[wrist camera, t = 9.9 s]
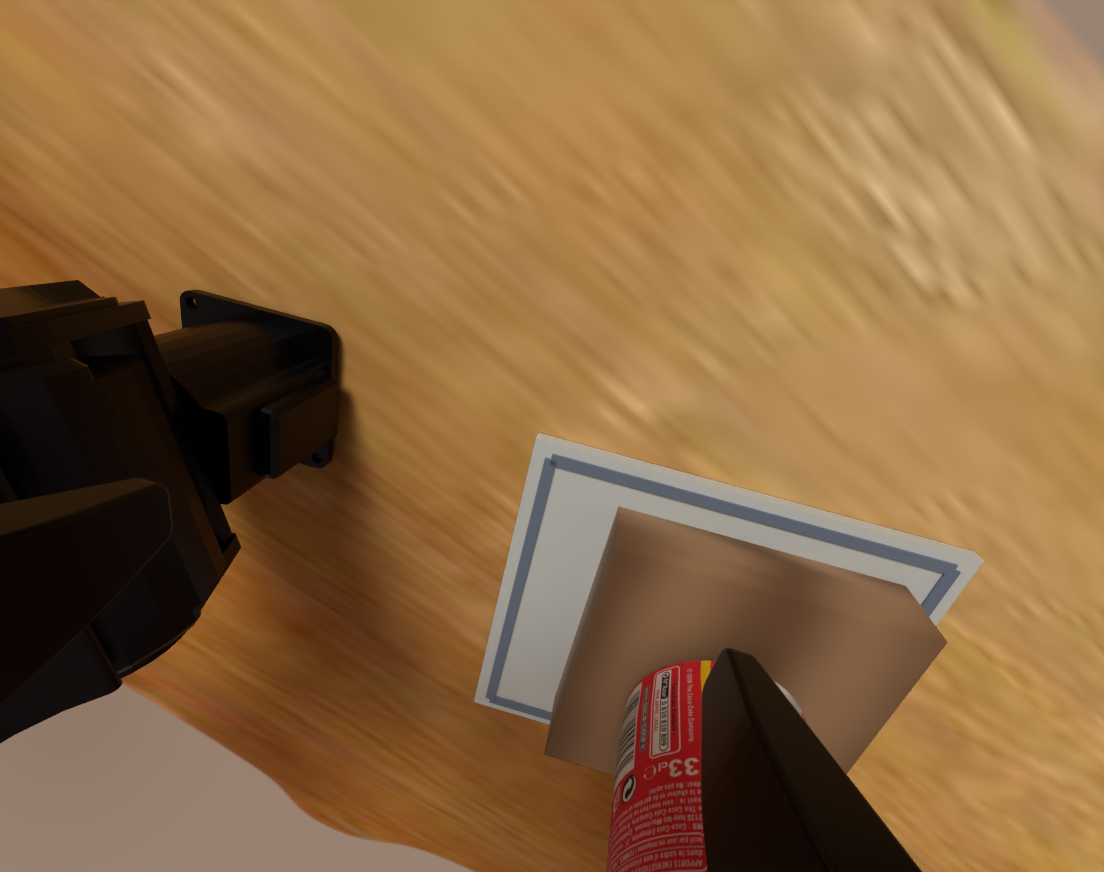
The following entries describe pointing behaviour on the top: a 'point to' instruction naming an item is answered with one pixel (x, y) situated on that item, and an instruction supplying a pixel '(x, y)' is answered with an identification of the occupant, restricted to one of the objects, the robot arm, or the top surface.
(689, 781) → the soda can
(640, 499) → the white blue bordered mat
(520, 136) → the top surface
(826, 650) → the plinth
